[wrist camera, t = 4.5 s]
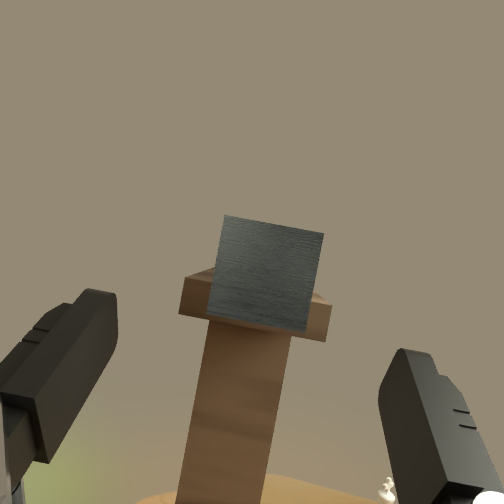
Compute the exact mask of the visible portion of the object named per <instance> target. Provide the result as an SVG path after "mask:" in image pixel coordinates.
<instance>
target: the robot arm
mask: <svg viewBox="0 0 504 504" xmlns="http://www.w3.org/2000/svg"><path fill="white" fill-rule="evenodd" d="M117 339H118V318H117V298H116V295H115V294H114V293H110V292H105V291H100V290H95V289H89V288H88V289H85V290H84V291H83V292H82V294H81V295H80V296H79V297H78V298H77V299H76V301H75V302H74V303H73V304H68V303H62V304H61V305H59V306H57V307H55V308H54V309H52V310H50V311H49V312H47V313H46V314H45V315H43V317H42V318H41V319H40V320H39V321H38V322H37V323H36V324H35V325H34V327H33V329H32V330H30V331H29V332H28V333H27V334H26V335H25V337H24V338H23V339H22V342H19V343H18V344H17V345H16V346H15V347H14V349H13V350H12V351H11V352H10V353H9V354H8V355H7V356H6V357H5V358H4V360H3V361H2V362H1V363H0V504H25V493H24V482H23V475H24V474H25V472H26V471H27V469H28V468H29V466H30V464H31V463H32V461H36V462H41V463H46V464H49V463H50V461H51V459H52V458H53V456H54V454H55V453H56V451H57V449H58V448H59V446H60V444H61V442H62V441H63V439H64V437H65V435H66V434H67V432H68V430H69V429H70V427H71V425H72V423H73V422H74V420H75V418H76V417H77V415H78V413H79V411H80V410H81V408H82V406H83V404H84V403H85V401H86V399H87V398H88V396H89V394H90V392H91V391H92V389H93V387H94V385H95V384H96V382H97V381H98V379H99V377H100V375H101V374H102V372H103V370H104V368H105V367H106V365H107V363H108V362H109V360H110V358H111V356H112V354H113V352H114V350H115V347H116V344H117ZM378 396H379V397H378V405H379V411H380V416H381V421H382V425H383V430H384V435H385V440H386V444H387V449H388V454H389V459H390V464H391V468H392V473H393V478H394V482H395V488H396V492H397V497H398V502H399V504H504V488H503V485H502V483H501V481H500V479H499V476H498V474H497V472H496V470H495V468H494V465H493V463H492V461H491V458H490V456H489V454H488V452H487V449H486V447H485V445H484V443H483V440H482V438H481V436H480V434H479V432H477V430H476V425H475V422H474V420H473V418H472V416H470V414H469V413H470V411H469V409H468V407H467V405H466V402H465V400H464V398H463V396H462V393H461V392H460V391H459V390H458V389H457V388H456V386H455V385H454V384H453V383H452V382H451V381H450V379H449V378H448V377H447V376H442V375H439V374H438V372H437V369H436V366H435V364H434V361H433V359H432V357H431V355H430V354H428V353H423V352H419V351H413V350H408V349H402V348H400V349H399V350H397V352H396V354H395V356H394V358H393V360H392V362H391V364H390V366H389V368H388V370H387V373H386V375H385V377H384V379H383V381H382V383H381V385H380V389H379V395H378Z"/></svg>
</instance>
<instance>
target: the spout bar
mask: <svg viewBox="0 0 504 504" xmlns="http://www.w3.org/2000/svg"><path fill="white" fill-rule="evenodd" d="M323 236H324V233H319V232H313V231H308V230H302V229H297V228H292V227H286V226H281V225H276V224H270V223H265V222H259V221H254V220H248V219H243V218H238V217H232V216H227V215H224V221H223V226H222V231H221V237H220V242H219V247H218V253H217V258H216V263H215V269H214V274H213V280H212V285H211V290H210V296H209V301H208V306H207V312H206V314H209V315H215V316H220V317H225V318H230V319H235V320H241V321H246V322H251V323H256V324H261V325H267V326H272V327H277V328H282V329H287V330H293V331H298V332H303V333H305V331H306V326H307V321H308V315H309V310H310V305H311V299H312V294H313V289H314V283H315V278H316V273H317V267H318V262H319V257H320V251H321V246H322V241H323Z"/></svg>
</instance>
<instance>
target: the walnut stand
mask: <svg viewBox="0 0 504 504" xmlns="http://www.w3.org/2000/svg"><path fill="white" fill-rule="evenodd" d="M214 269H215V267H214V268H211V269H208V270H205V271H202V272H199V273H196V274H194V275H191V276H188V277H185V281H184V286H183V291H182V297H181V302H180V308H179V314H182V315H186V316H192V317H197V318H202V319H207V320H209V326H208V331H207V336H206V342H205V347H204V353H203V358H202V363H201V368H200V374H199V379H198V384H197V390H196V395H195V401H194V406H193V411H192V416H191V422H190V427H189V433H188V438H187V443H186V449H185V454H184V459H183V465H182V470H181V476H180V481H179V486H178V491H177V497H176V502H175V504H260V500H261V495H262V490H263V484H264V479H265V474H266V468H267V463H268V458H269V453H270V447H271V442H272V437H273V431H274V426H275V420H276V415H277V410H278V405H279V400H280V394H281V389H282V384H283V378H284V373H285V367H286V362H287V357H288V352H289V347H290V341H291V336H295V337H300V338H306V339H311V340H316V341H321V342H325V341H326V336H327V331H328V325H329V320H330V315H331V309H332V305H331V304H330V303H328V302H327V301H326V300H325V299H323V298H322V297H321V296H319V295H318V294H317V293H315V292H314V291H313V294H312V299H311V305H310V310H309V315H308V321H307V326H306V331H305V333H303V332H298V331H293V330H287V329H282V328H277V327H272V326H267V325H261V324H256V323H251V322H246V321H241V320H235V319H230V318H225V317H220V316H215V315H209V314H206V312H207V306H208V301H209V296H210V290H211V285H212V280H213V274H214Z"/></svg>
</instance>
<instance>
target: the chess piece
mask: <svg viewBox="0 0 504 504" xmlns="http://www.w3.org/2000/svg"><path fill="white" fill-rule="evenodd" d="M393 485H394V483H393V482H392V479H391V478H389V477H388V478H387V479H386V483H384V484H383V485H382V488H383V489H380V490H378V501H379V504H393V502H394V500H395V497H394V495H393V494H392V493H391V492H390V488H391V487H393Z"/></svg>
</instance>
